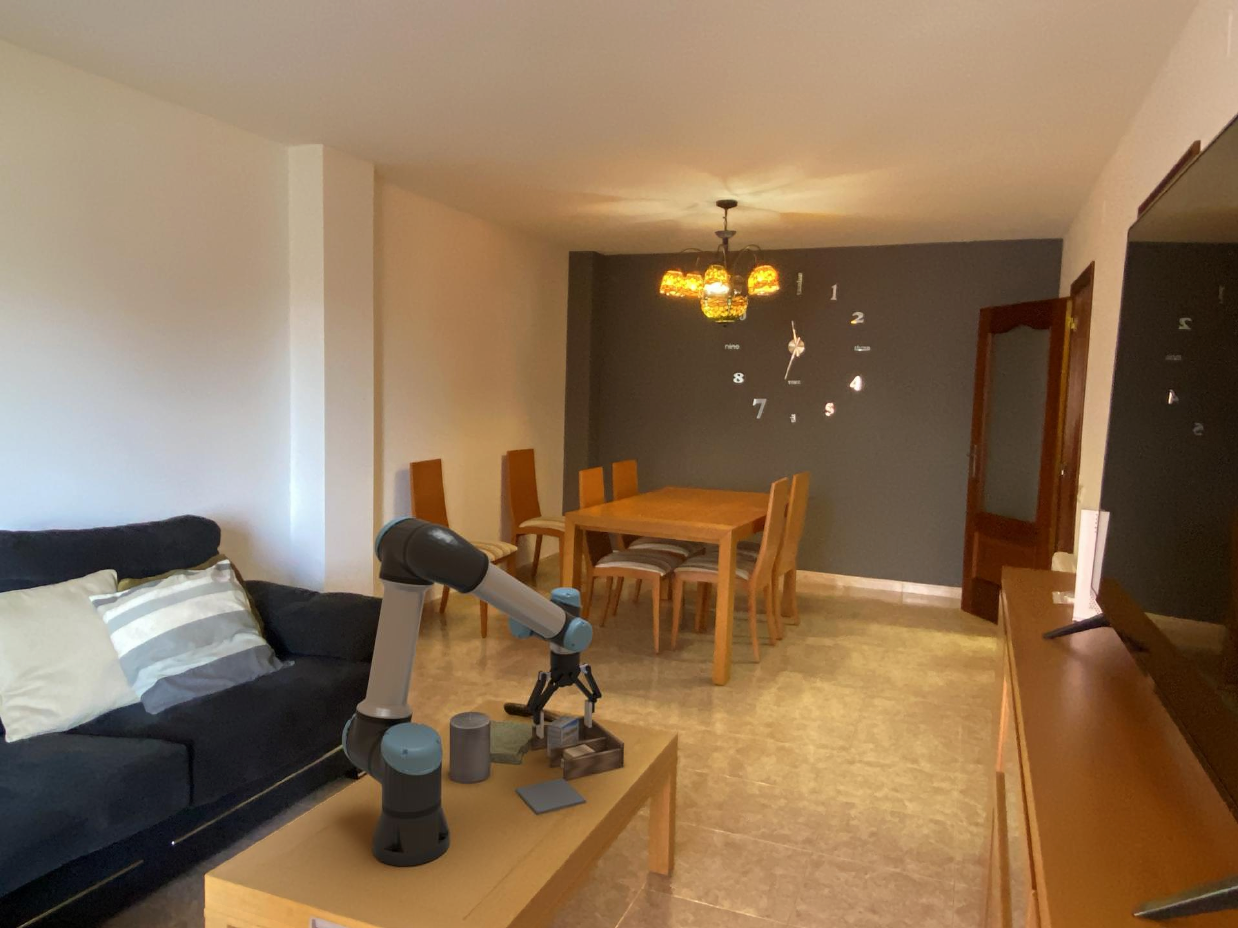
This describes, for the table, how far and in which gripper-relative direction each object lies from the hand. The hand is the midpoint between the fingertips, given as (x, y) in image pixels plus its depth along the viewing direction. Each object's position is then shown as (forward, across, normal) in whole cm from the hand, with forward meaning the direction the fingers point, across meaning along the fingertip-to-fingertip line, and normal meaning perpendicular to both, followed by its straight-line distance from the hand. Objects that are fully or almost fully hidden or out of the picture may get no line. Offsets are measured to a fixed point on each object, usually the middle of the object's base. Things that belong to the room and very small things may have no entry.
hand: (564, 730), depth 212 cm
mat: (+6, -13, -19) cm, 24 cm away
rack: (+6, +2, -4) cm, 7 cm away
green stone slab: (+6, -13, +11) cm, 19 cm away
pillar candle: (+6, -25, -1) cm, 26 cm away
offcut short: (+4, -1, -9) cm, 10 cm away
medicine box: (+6, 0, 0) cm, 6 cm away
